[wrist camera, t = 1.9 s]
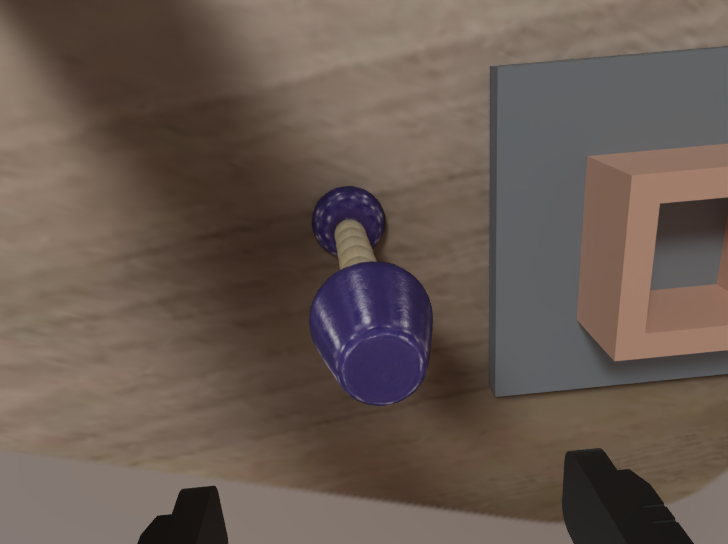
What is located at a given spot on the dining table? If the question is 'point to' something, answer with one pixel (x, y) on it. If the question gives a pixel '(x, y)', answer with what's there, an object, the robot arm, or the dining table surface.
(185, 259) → the dining table surface
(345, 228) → the toy lamp
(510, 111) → the socket block
